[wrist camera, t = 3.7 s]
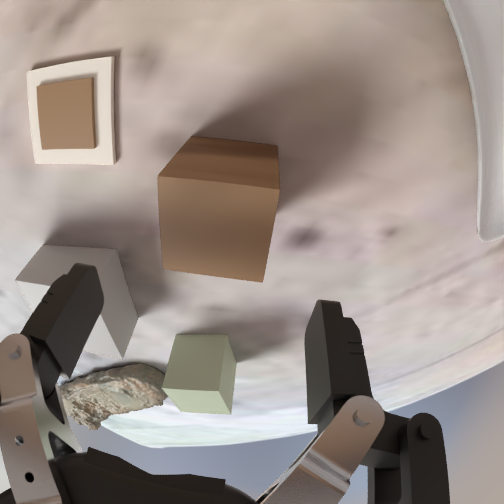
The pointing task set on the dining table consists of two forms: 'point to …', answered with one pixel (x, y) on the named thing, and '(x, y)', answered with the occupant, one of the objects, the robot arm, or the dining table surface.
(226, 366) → the sage block
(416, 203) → the dining table surface
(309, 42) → the dining table surface
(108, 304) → the base block
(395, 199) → the dining table surface
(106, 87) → the swatch
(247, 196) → the walnut block
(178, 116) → the dining table surface
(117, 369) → the long grey stone
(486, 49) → the salad plate
